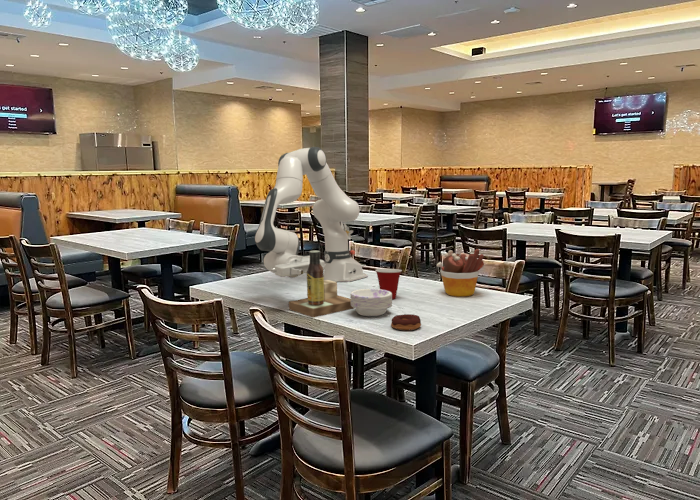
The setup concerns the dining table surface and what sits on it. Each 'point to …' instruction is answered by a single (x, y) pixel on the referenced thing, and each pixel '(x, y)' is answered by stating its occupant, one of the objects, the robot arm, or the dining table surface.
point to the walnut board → (321, 306)
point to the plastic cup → (389, 280)
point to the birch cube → (330, 289)
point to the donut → (406, 322)
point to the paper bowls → (371, 301)
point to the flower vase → (346, 230)
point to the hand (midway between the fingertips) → (312, 270)
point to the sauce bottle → (315, 280)
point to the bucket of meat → (460, 273)
